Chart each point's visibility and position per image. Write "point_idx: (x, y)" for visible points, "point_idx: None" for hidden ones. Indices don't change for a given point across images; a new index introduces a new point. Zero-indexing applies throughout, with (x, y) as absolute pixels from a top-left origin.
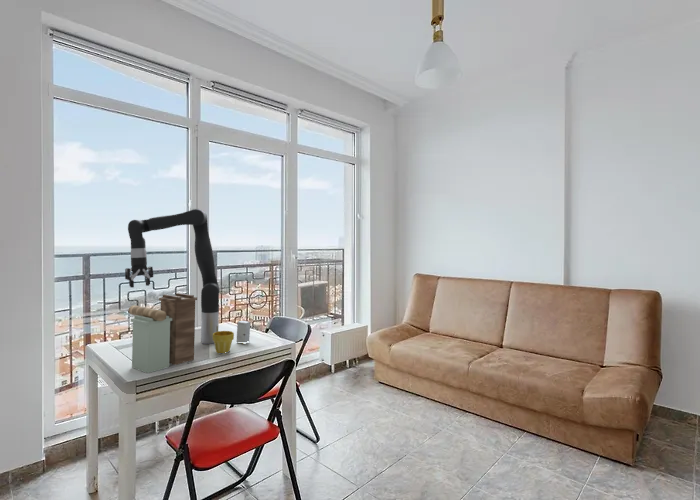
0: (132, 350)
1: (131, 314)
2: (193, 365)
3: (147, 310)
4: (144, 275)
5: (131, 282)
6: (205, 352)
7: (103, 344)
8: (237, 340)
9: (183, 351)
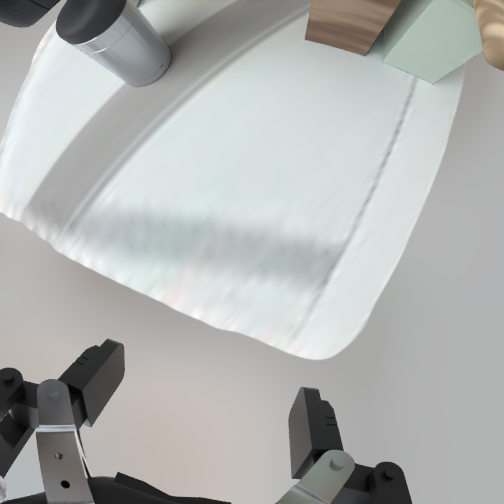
0: (454, 68)
1: (499, 65)
2: None
3: None
4: (87, 464)
5: (329, 436)
6: (246, 4)
7: (313, 340)
8: (134, 2)
9: None
